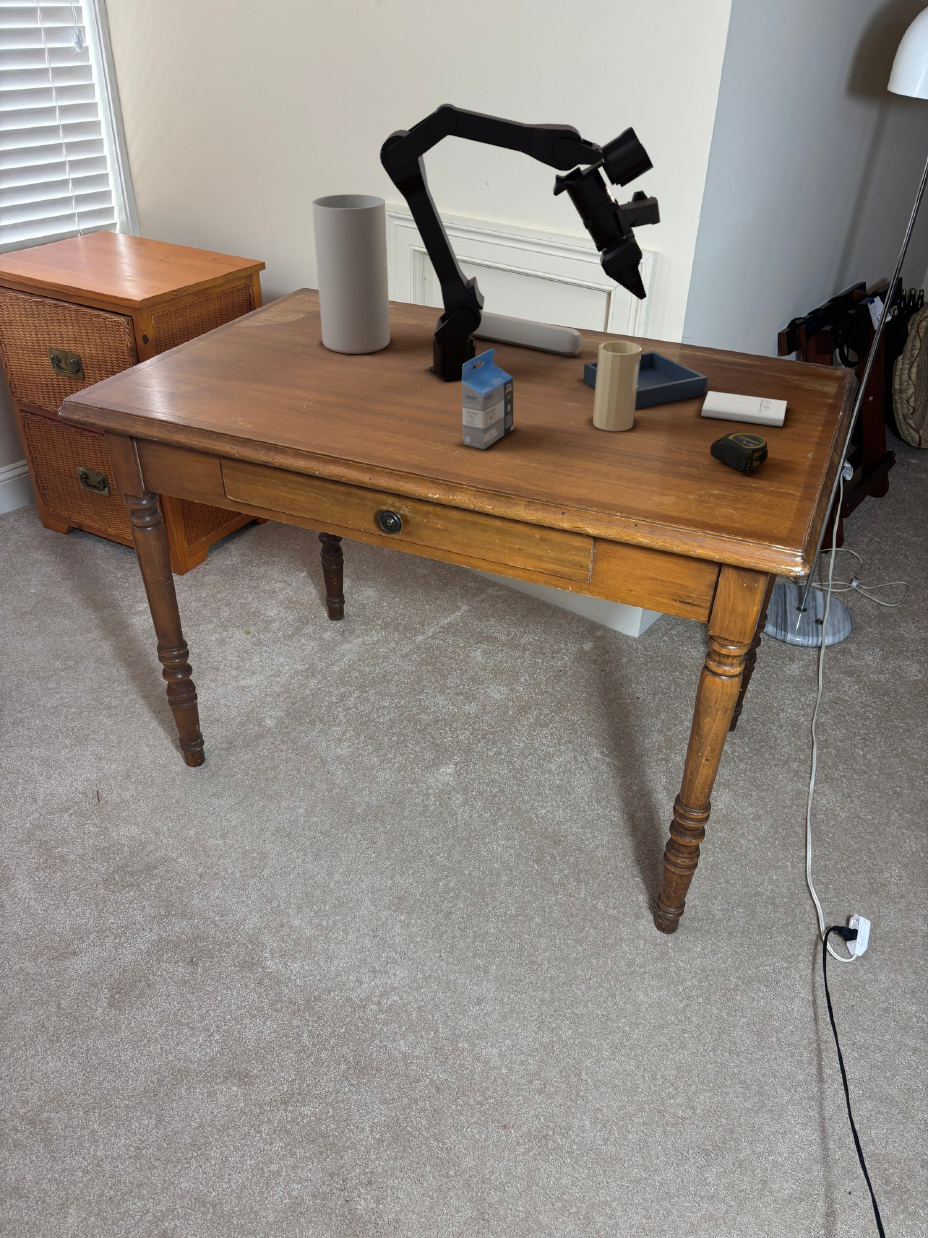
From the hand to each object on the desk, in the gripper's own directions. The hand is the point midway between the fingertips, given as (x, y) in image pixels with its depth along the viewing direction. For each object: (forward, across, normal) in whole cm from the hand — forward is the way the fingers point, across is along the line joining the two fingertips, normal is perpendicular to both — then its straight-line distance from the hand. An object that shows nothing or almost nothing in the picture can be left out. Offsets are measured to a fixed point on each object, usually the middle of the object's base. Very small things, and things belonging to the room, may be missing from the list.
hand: (640, 290), depth 161 cm
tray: (+13, -5, +7) cm, 16 cm away
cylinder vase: (-15, +14, +50) cm, 54 cm away
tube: (+2, +16, +24) cm, 29 cm away
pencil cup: (+10, -21, +12) cm, 26 cm away
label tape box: (-1, -27, +28) cm, 39 cm away
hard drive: (+22, -15, -6) cm, 27 cm away
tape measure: (+19, -35, -2) cm, 40 cm away
